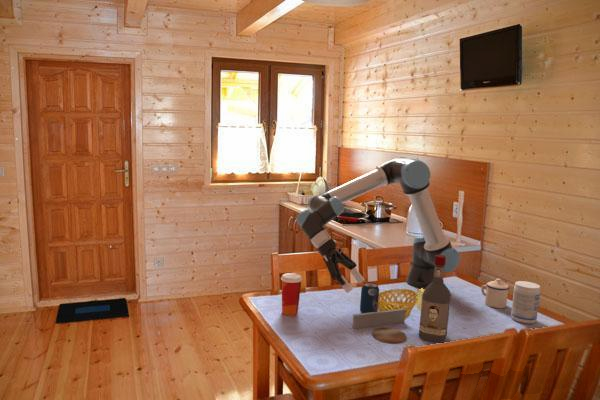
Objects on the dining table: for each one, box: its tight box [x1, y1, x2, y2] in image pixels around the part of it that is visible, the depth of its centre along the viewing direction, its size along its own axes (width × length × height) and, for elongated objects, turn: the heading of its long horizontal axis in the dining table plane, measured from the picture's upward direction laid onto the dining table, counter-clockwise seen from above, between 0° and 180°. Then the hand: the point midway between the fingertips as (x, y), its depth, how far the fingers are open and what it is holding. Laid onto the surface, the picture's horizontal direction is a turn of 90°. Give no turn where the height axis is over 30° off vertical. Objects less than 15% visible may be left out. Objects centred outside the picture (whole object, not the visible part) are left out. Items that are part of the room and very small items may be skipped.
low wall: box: [352, 308, 407, 330], centre depth 196 cm, size 1×22×5 cm, turn 114°
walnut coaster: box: [371, 327, 407, 344], centre depth 187 cm, size 12×12×1 cm
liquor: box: [418, 255, 452, 344], centre depth 185 cm, size 9×9×30 cm
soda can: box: [359, 281, 380, 314], centre depth 206 cm, size 7×7×12 cm
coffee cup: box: [280, 272, 303, 317], centre depth 202 cm, size 8×8×15 cm
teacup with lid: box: [480, 278, 510, 309], centre depth 226 cm, size 12×9×12 cm
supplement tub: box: [510, 280, 541, 325], centre depth 209 cm, size 10×10×15 cm
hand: (356, 286), depth 207 cm, fingers open, 13 cm apart
